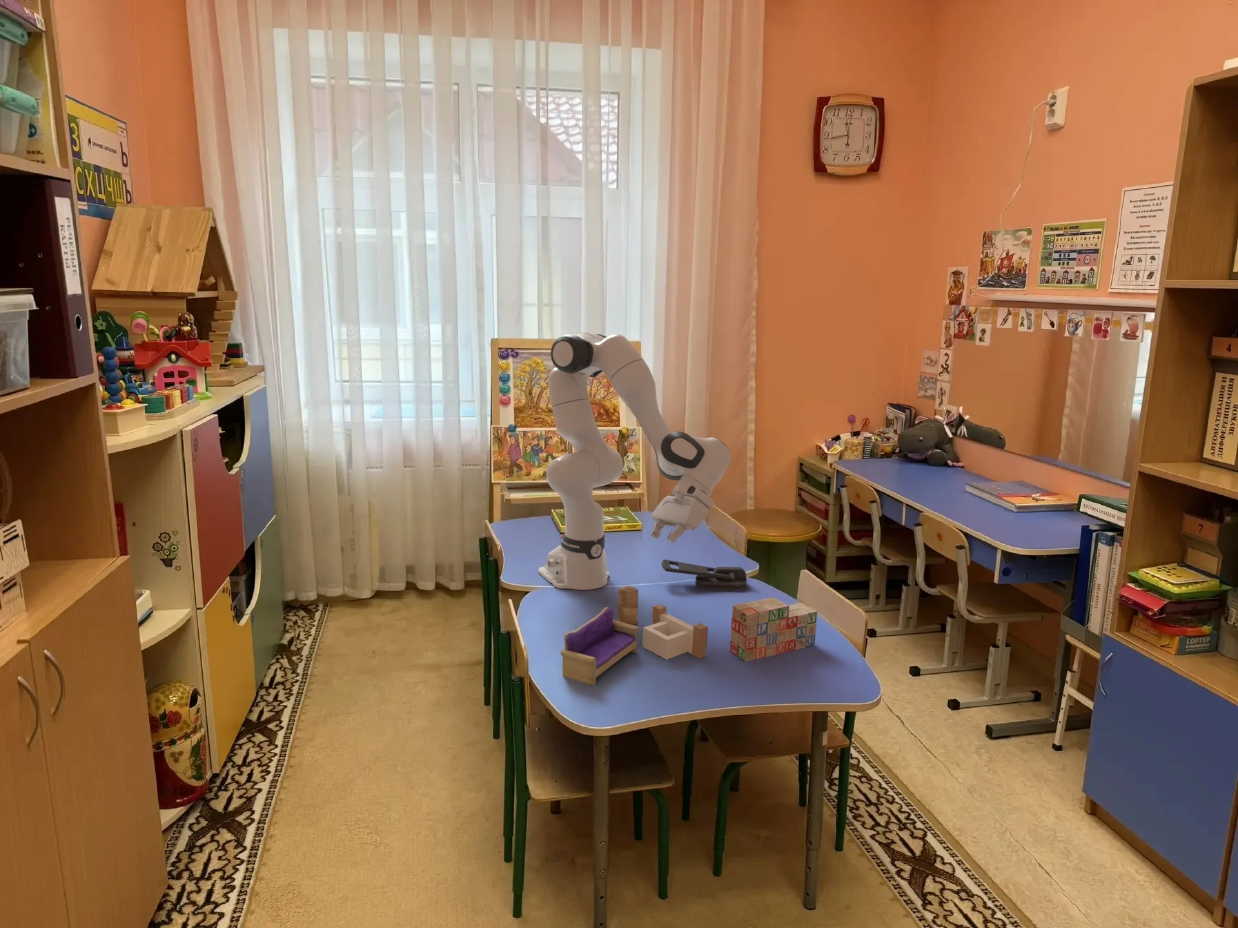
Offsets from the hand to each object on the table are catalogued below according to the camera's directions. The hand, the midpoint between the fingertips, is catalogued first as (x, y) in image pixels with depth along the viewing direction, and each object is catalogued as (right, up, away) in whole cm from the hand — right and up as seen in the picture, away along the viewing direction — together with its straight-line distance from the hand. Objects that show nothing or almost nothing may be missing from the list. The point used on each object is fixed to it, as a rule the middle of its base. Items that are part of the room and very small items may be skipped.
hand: (661, 539), depth 212 cm
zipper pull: (+14, -16, +31) cm, 38 cm away
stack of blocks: (+27, -26, -9) cm, 38 cm away
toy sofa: (-15, -28, -20) cm, 37 cm away
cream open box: (+1, -26, -11) cm, 28 cm away
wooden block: (-9, -23, -1) cm, 25 cm away
